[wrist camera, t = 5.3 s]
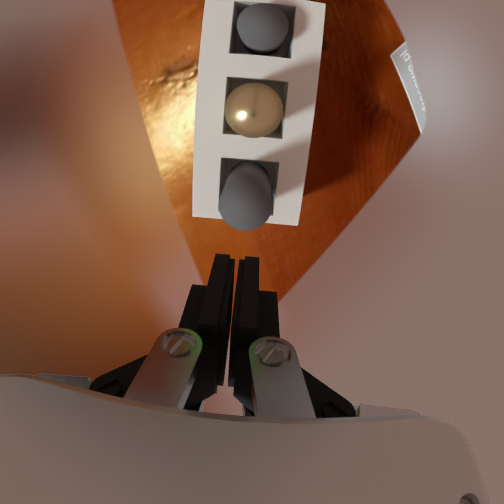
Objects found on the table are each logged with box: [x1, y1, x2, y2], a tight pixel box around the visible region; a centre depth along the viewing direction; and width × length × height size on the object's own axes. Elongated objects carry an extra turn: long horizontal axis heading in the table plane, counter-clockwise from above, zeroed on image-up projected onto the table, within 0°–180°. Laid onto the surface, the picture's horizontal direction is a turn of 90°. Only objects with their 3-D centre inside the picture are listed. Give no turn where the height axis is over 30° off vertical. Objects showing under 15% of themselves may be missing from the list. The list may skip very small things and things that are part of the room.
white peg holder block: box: [192, 0, 326, 226], centre depth 23 cm, size 19×9×6 cm, turn 175°
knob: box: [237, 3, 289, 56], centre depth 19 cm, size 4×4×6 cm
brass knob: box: [225, 83, 283, 138], centre depth 20 cm, size 4×4×6 cm
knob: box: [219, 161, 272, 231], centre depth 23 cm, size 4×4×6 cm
